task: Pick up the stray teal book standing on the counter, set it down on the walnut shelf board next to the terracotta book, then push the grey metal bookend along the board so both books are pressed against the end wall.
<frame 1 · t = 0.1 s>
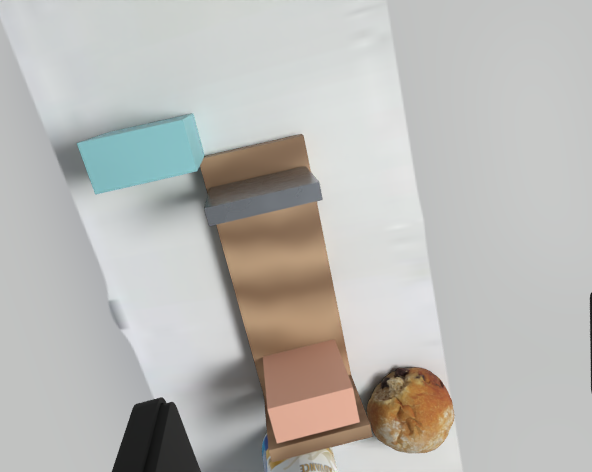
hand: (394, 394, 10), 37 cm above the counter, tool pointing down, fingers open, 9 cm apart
bread roll: (403, 397, 56), on the counter
beverage bottle: (295, 440, 56), on the counter
bookend: (261, 193, 40), point 6 cm above the counter, slide at 0.0 cm
teal book: (157, 144, 43), on the counter
terracotta book: (302, 363, 50), point 1 cm above the counter, touching shelf board
shelf board: (282, 278, 49), on the counter
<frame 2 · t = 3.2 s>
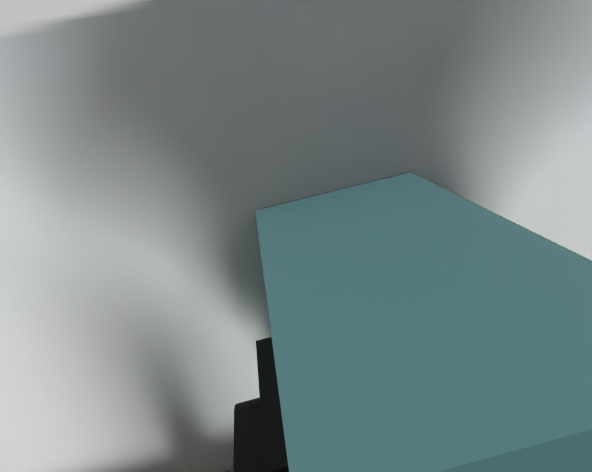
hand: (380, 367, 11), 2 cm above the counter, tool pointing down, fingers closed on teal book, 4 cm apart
teal book: (361, 329, 13), on the counter, touching gripper
when the fingers open (5 cm above the counter, at t = 8.1 s): teal book drops 2 cm, resting on shelf board.
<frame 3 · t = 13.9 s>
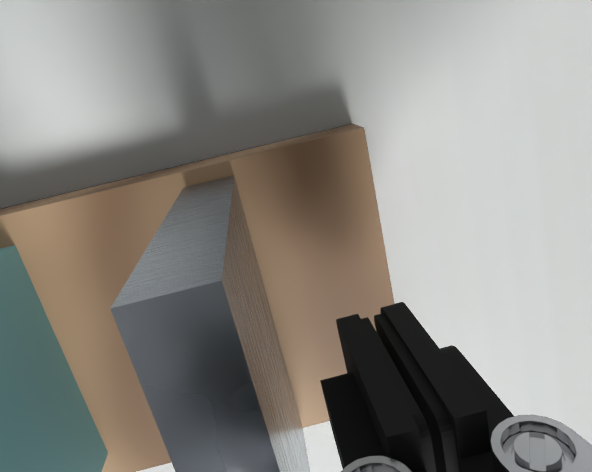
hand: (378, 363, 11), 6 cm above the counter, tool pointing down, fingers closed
bookend: (250, 393, 11), point 6 cm above the counter, slide at 1.3 cm, touching gripper
teal book: (4, 373, 15), point 1 cm above the counter, touching shelf board
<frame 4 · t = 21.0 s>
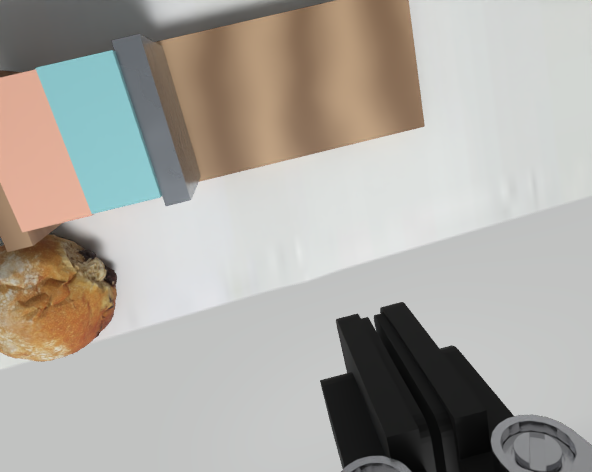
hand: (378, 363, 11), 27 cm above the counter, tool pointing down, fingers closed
bread roll: (57, 286, 38), on the counter
bookend: (164, 120, 29), point 6 cm above the counter, slide at 14.7 cm
teal book: (134, 124, 33), point 1 cm above the counter, touching shelf board, terracotta book
terracotta book: (80, 138, 33), point 1 cm above the counter, touching shelf board, teal book
shelf board: (227, 102, 35), on the counter
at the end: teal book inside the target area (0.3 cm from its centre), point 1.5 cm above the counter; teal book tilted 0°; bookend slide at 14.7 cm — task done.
